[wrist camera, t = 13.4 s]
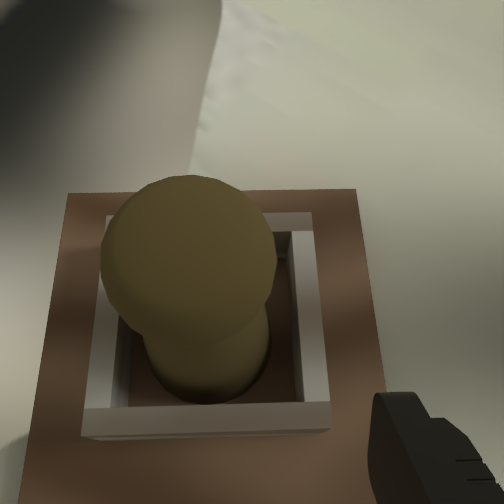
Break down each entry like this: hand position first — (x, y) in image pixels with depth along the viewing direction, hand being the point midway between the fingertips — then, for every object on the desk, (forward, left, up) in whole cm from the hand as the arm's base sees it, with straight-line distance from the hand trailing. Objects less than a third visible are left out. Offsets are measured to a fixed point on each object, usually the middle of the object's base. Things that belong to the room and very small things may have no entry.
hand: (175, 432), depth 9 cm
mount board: (-3, -4, -13) cm, 15 cm away
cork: (-3, -4, -12) cm, 13 cm away
